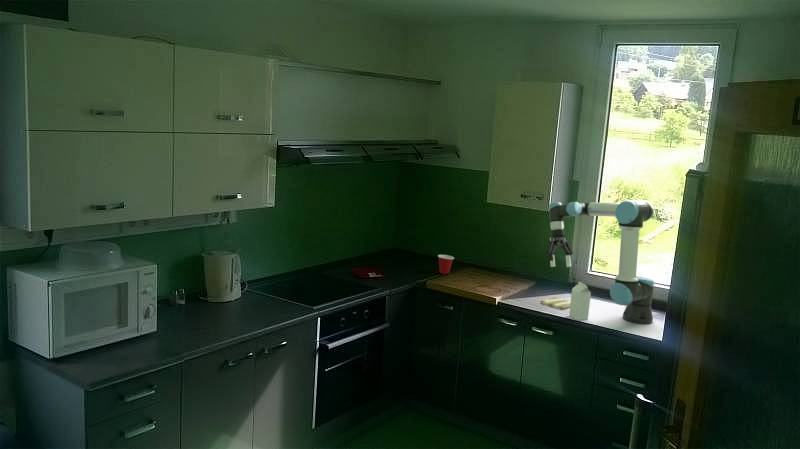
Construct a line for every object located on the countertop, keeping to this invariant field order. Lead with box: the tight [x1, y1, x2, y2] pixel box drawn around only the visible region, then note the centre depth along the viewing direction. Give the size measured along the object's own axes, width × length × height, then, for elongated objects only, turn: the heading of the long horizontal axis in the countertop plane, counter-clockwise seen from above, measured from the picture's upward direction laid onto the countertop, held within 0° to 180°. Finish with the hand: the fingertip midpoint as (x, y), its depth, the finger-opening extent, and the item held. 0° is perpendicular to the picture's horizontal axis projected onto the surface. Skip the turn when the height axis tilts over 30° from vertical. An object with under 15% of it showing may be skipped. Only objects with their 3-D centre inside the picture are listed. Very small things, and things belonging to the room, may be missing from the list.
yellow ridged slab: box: [540, 296, 571, 311], centre depth 357 cm, size 15×14×2 cm
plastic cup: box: [437, 254, 455, 275], centre depth 412 cm, size 11×11×12 cm
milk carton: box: [568, 281, 592, 321], centre depth 333 cm, size 7×7×19 cm
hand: (561, 266), depth 357 cm, fingers open, 13 cm apart
